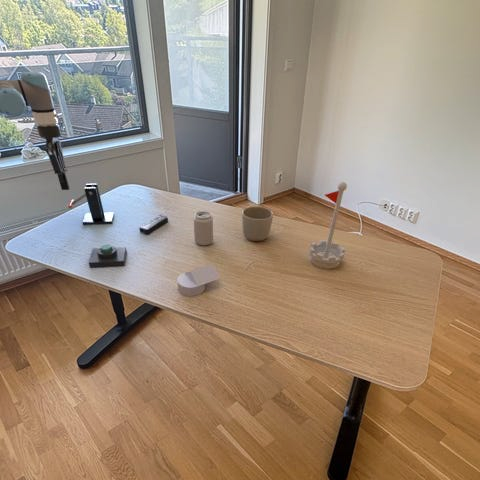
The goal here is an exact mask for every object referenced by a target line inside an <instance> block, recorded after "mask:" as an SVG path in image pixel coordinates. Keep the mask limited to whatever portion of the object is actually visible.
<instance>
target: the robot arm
mask: <svg viewBox="0 0 480 480" xmlns="http://www.w3.org/2000/svg"><path fill="white" fill-rule="evenodd" d="M20 78H21V79H20ZM20 78H19V79H0V113H1V114H3V115H4V114H5V115H6V116H8V117H11V118H19V117H22V116H23V115H24V114H25V112H26V110H27V109H26V108H27V107H30V110H31V112H32V116H33V120H34V123H35V124H36V129H37V130H36V131H37V133H38V136H39V137H40V138H42V139H45V146H46V148H47V149H45V152H46V155H47V156H48V159H49V162H50V163H51V166H52V170H53V172H54V174H55V175H57V178H58V183H59V185H60V189H61V191H69V190H70V185H69V181H68V177H67V174H66V173H67V172H68V169H66V163H65V158H64V157H65V156H64V154H63V153H64V152H63V149H62V141H61V140H59V138H60V137H61V136H62V131H61V128H60V125H59V121H58V120H59V119H58V117H59V115H58V113H57V112H56V109H55V105H54V100H53V97H52V93H51V88H50V86H49V83H48V79H47V76H46V75H45V74H44V73H43V72H40V71H23V72H21V73H20Z"/></svg>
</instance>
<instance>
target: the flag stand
mask: <svg viewBox="0 0 480 480" xmlns="http://www.w3.org/2000/svg"><path fill="white" fill-rule="evenodd" d="M347 188H348V184H347V182H345V181H341V182H339V183H338V184H337V190H336V191H332V192H330V193H326V194H324V196H325V197H326V198H328V199H329V200H330V201H332V202H333V203H334V204H335V205H334V211H333V214H332V219H331V223H330V224H331V225H330V228H329V231H328V236H327V239H320V240H319V242H318V243H317V241H313V242H312V243H311V244H310V248H309V251H308V252H309V253H308V254H309V256H310V262H311V264H312V265H314V266H316V267H317V268H321V269H327V270H330V269H335V268H337V267H338V266H339V265H340V262H342V261H343V260H344V258H345V252H346V249H345V247H344V246H339V245H340V243H339V242H336V241H333V237H334V233H335V228H336V225H337V220H338V216H339V211H340V207H341V203H342V200H343V196H344V191H346V190H347ZM319 252H322V253H319ZM323 252H325V253H323ZM329 253H331V254H329ZM332 254H333V255H332ZM334 255H335V256H336V257H337V258H336V257H335V256H334ZM338 263H339V264H338Z"/></svg>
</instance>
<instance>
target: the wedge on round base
mask: <svg viewBox="0 0 480 480" xmlns="http://www.w3.org/2000/svg"><path fill="white" fill-rule="evenodd" d="M219 279H221V277H220V275H219V273H218V272H217V269H216V267H215V265H214V263H210V264H208V265H203V266H201V267H199V268H195V269H193V270H189V271H187V272H184V273H182V274H180V275H178V277H177V278H176V281H177V290H178V292H179V293H180V294H181V295H183V296H188V297H195V296H198V295H200V294H203V293H204V292H205V288H206V284H209V283H211V282H214V281H217V280H219Z"/></svg>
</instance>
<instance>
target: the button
mask: <svg viewBox="0 0 480 480" xmlns="http://www.w3.org/2000/svg"><path fill="white" fill-rule="evenodd" d="M111 246H112V245H111V244H102V245H101V246H100V247H101V251H102V253H110V252H111V251H112V248H111Z"/></svg>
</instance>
